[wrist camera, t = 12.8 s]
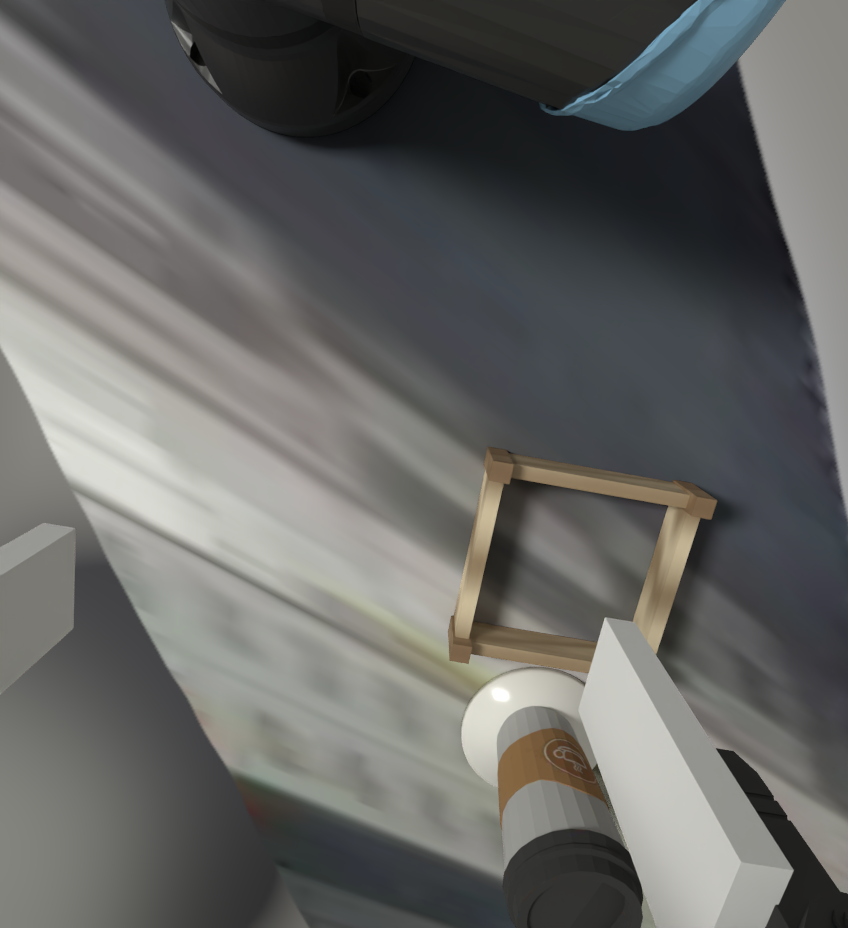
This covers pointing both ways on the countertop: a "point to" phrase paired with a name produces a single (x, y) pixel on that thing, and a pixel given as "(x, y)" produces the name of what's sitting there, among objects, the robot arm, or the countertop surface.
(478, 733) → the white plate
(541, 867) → the coffee cup
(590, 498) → the countertop surface
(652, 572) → the wooden frame
